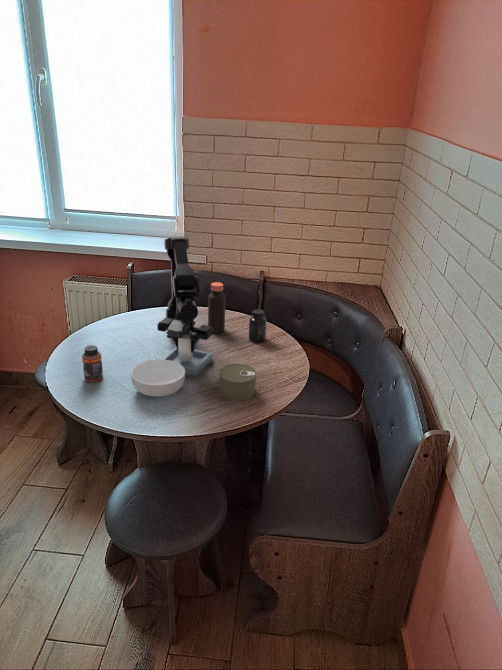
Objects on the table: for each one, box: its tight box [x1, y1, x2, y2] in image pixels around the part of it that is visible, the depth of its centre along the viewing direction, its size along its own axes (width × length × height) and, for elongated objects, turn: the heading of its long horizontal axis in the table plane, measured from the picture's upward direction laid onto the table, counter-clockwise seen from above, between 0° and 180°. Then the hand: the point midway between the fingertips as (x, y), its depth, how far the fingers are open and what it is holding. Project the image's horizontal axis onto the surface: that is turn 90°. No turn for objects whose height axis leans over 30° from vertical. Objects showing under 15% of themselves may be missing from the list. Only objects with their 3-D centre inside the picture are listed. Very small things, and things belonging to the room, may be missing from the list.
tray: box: [161, 346, 213, 379], centre depth 174 cm, size 14×14×3 cm
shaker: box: [178, 332, 193, 362], centre depth 172 cm, size 5×5×10 cm
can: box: [218, 363, 257, 402], centre depth 159 cm, size 12×12×7 cm
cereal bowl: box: [130, 358, 186, 398], centre depth 157 cm, size 17×17×7 cm
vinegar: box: [207, 281, 226, 335], centre depth 199 cm, size 7×7×20 cm
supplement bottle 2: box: [248, 309, 268, 344], centre depth 195 cm, size 7×7×12 cm
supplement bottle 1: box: [81, 344, 104, 383], centre depth 161 cm, size 6×6×11 cm
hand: (185, 350), depth 173 cm, fingers closed on shaker, 5 cm apart
